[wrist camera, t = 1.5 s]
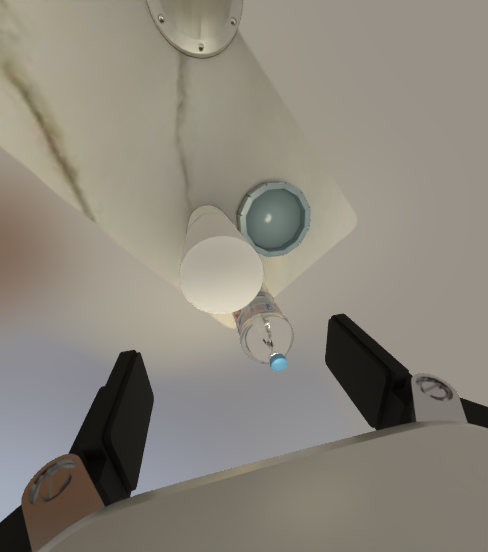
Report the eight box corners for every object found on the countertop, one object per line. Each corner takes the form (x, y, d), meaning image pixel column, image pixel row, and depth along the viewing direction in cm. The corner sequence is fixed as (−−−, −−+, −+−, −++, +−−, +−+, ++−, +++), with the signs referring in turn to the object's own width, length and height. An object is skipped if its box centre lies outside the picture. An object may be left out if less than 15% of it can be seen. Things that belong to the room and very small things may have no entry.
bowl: (235, 185, 40) (238, 185, 37) (304, 180, 42) (311, 180, 39) (240, 255, 45) (243, 260, 43) (301, 247, 47) (308, 251, 44)
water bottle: (246, 295, 49) (289, 393, 26) (217, 284, 47) (237, 382, 24) (261, 268, 47) (321, 348, 25) (231, 255, 45) (267, 331, 22)
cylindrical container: (180, 222, 41) (159, 274, 18) (210, 196, 40) (229, 217, 17) (206, 251, 44) (217, 328, 21) (235, 228, 43) (278, 280, 20)
